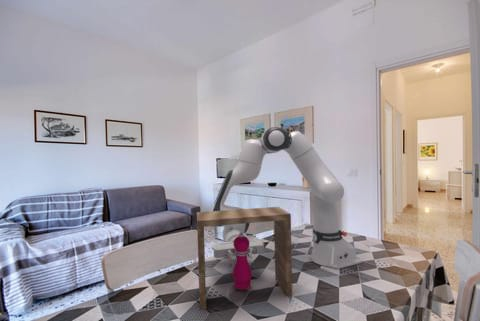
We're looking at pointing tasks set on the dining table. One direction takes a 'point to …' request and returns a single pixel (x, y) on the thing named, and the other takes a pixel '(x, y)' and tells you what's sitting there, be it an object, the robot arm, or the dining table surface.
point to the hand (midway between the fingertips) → (242, 256)
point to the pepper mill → (242, 263)
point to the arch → (250, 216)
